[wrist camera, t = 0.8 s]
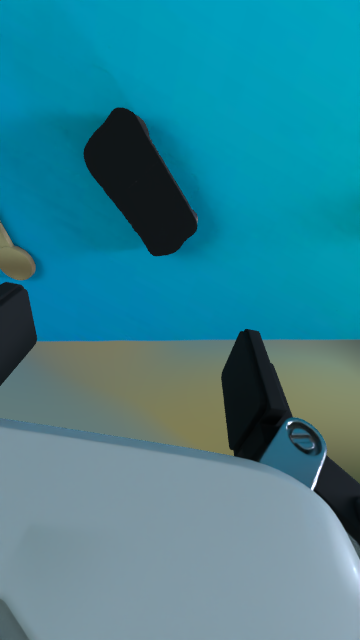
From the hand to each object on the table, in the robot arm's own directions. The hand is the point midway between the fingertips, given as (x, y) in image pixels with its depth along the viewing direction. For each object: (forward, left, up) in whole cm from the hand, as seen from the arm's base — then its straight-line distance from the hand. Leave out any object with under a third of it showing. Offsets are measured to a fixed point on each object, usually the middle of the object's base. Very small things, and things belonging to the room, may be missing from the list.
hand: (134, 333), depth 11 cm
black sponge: (-3, -4, -29) cm, 30 cm away
